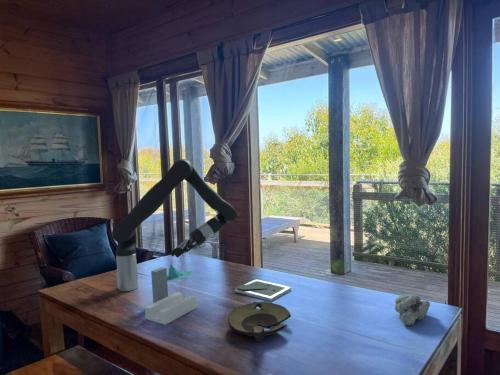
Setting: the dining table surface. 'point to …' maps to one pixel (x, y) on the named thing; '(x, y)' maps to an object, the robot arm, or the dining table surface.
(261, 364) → the dining table surface
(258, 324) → the oil lamp
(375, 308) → the dining table surface
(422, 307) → the mineral
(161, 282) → the slate slat
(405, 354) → the dining table surface
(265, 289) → the picture frame
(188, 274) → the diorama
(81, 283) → the dining table surface
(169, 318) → the rail
